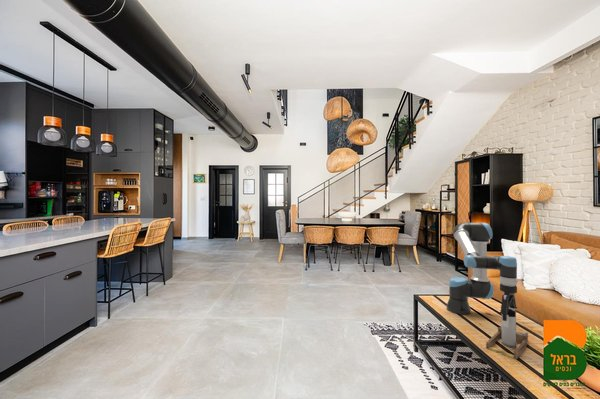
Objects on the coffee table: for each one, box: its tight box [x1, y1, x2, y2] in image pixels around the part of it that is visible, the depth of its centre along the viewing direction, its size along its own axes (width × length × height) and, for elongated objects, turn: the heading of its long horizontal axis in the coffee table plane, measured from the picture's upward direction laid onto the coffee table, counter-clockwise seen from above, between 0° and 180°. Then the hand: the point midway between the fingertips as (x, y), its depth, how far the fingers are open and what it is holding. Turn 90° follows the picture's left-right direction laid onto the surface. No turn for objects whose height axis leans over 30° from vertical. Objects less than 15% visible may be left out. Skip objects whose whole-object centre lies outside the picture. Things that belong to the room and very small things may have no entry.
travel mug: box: [501, 309, 517, 349], centre depth 144 cm, size 6×7×20 cm
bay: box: [485, 326, 529, 360], centre depth 144 cm, size 13×27×5 cm, turn 128°
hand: (508, 322), depth 144 cm, fingers open, 13 cm apart
